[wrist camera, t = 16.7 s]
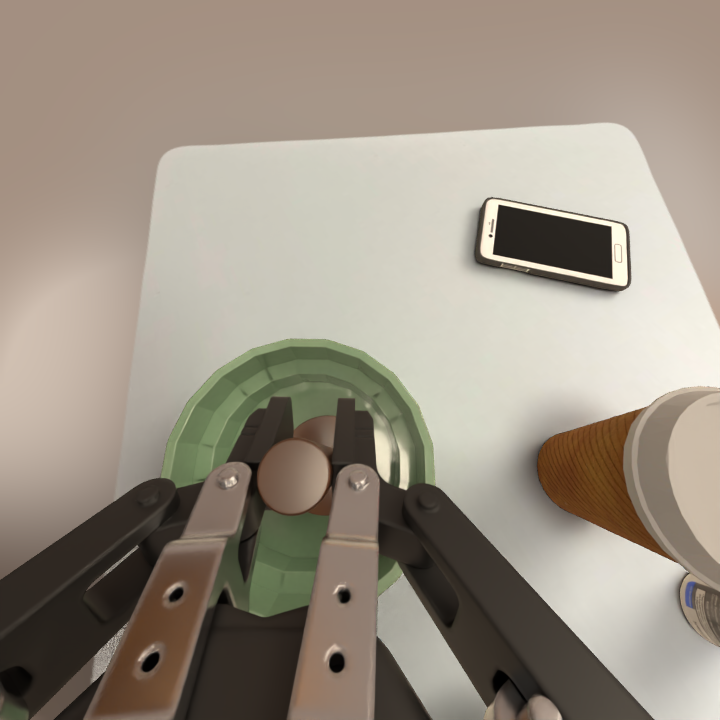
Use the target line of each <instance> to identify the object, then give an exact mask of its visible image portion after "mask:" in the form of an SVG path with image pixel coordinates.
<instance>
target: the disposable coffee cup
mask: <svg viewBox="0 0 720 720" xmlns="http://www.w3.org/2000/svg"><path fill="white" fill-rule="evenodd" d="M537 468H538V475H539V480H540V482H541V484H542V487H543V489H544V490H545V492H546V494H547V495H548V496H549V498H550V499H551V500H552V501H553V502H554V503H555V504H557V505H558V506H559V507H560V508H562V509H564V510H565V511H567V512H569V513H572V514H574V515H576V516H578V517H580V518H583V519H585V520H587V521H589V522H591V523H593V524H596V525H598V526H600V527H602V528H604V529H606V530H608V531H610V532H612V533H614V534H617V535H619V536H621V537H623V538H625V539H627V540H630V541H632V542H634V543H636V544H638V545H640V546H643V547H645V548H647V549H649V550H651V551H653V552H655V553H657V554H659V555H661V556H664V557H666V558H668V559H670V560H672V561H674V562H676V563H679V564H680V565H681V566H683V567H684V568H685V569H686V570H687V571H688V572H690V573H691V574H692V575H694V576H695V577H697V578H698V579H700V580H701V581H703V582H704V583H705V584H707V585H708V586H710V587H711V588H713V589H715V590H717V591H719V592H720V388H716V387H703V386H698V387H688V388H682V389H679V390H676V391H672V392H669V393H667V394H665V395H663V396H661V397H660V398H658V399H656V400H655V401H654V402H653V403H652V404H651V405H649V406H647V407H644V408H642V409H639V410H635V411H632V412H628V413H625V414H622V415H619V416H615V417H612V418H609V419H606V420H603V421H599V422H596V423H593V424H590V425H587V426H584V427H580V428H577V429H574V430H571V431H567V432H564V433H560V434H557V435H554V436H553V437H551V438H549V439H548V440H547V441H546V442H545V443H544V445H543V447H542V448H541V450H540V453H539V456H538V463H537Z"/></svg>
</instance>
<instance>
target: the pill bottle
mask: <svg viewBox="0 0 720 720" xmlns="http://www.w3.org/2000/svg"><path fill="white" fill-rule="evenodd" d="M680 600H681V605H682V609H683V611H684V614H685V616H686V618H687V620H688V621H689V623H690V624H691V625H692V627H693V628H694V629H695V630H696V631H697V632H698V633H699V634H700V635H701V636H702V637H703V638H704V639H706V640H707V641H709V642H711V643H712V644H714V645H716V646H718V647H720V592H719V591H717V590H715V589H713V588H711V587H710V586H708V585H707V584H705V583H704V582H703V581H701V580H700V579H698V578H697V577H695V576H694V575H692V574H691V573H689V574H688V575H687V576H686V578H685V579H684V581H683V583H682V585H681V589H680Z"/></svg>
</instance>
